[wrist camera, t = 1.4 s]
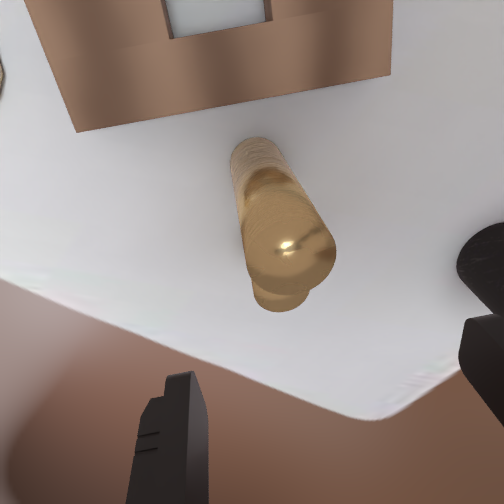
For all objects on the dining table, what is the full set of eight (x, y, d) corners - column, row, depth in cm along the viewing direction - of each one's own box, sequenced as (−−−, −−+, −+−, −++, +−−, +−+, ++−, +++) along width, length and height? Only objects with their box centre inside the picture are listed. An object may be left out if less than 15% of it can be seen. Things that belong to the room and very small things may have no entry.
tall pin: (278, 132, 27) (334, 209, 15) (284, 183, 29) (337, 286, 17) (225, 142, 27) (239, 227, 15) (235, 192, 29) (253, 302, 17)
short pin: (288, 217, 31) (307, 260, 25) (293, 257, 33) (311, 306, 27) (241, 225, 31) (249, 271, 25) (249, 265, 33) (258, 316, 27)
